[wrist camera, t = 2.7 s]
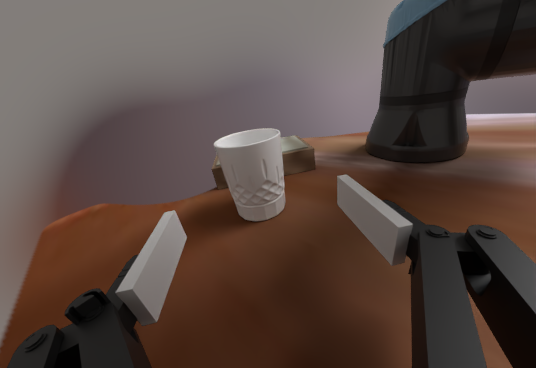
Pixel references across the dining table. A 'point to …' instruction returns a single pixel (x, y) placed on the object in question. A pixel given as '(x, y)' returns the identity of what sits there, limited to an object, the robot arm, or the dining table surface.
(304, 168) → the board
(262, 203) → the white cup
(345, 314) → the dining table surface
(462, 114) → the robot arm
